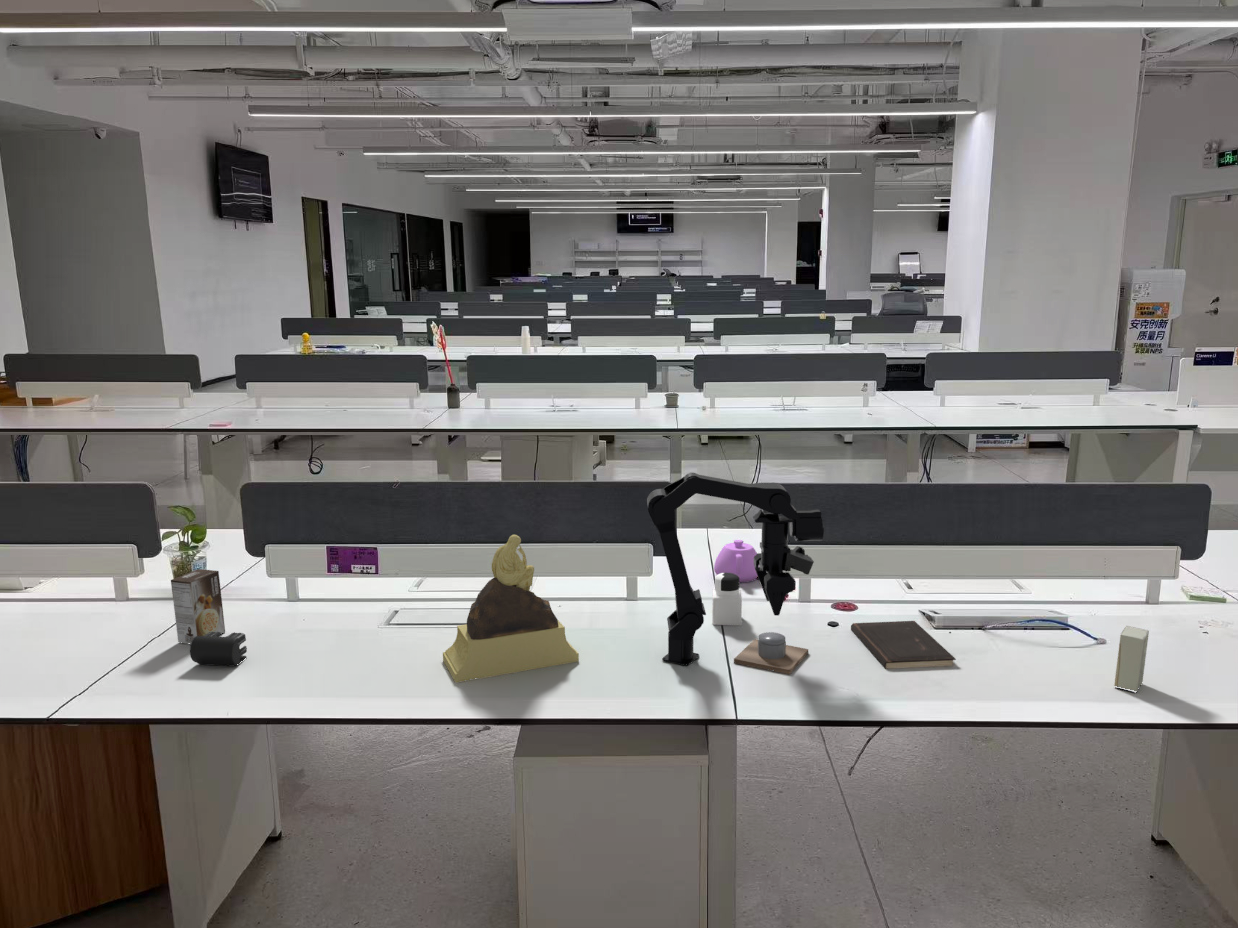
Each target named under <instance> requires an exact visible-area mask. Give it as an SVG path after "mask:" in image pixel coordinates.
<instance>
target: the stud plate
mask: <svg viewBox="0 0 1238 928" xmlns="http://www.w3.org/2000/svg"><path fill="white" fill-rule="evenodd" d="M808 654H809V648H804V647H799V646H794V645H788V644H786V655H785V656H784V657H783V658H780V659H766V658H763V657H761V656H759V655H758V639H757V638H754V639H753V640H752V641H751V642H750V643H749V644H748V645H747V646H746V647H745V648H743V650H742V651H741V652H739V653H738V654H737V655H736V656H735V657H734V658H733V664H737V665H743V666H746V667H752V668H756V667H758V668H757V669H761V668H763V669H762V670H766V669H769V670H768V671H771V670H774V671H773V672H776V671H777V672H776V673H780V672H781V673H782V674H784V675H785V674H786V675H790V674H792V673H793V671H794V670H795V669H796V668H797V667H798V666H799V664H800V663H801V662H802V661H803V660H804V659H805V658H806V656H808Z"/></svg>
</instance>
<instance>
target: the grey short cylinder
mask: <svg viewBox="0 0 1238 928" xmlns="http://www.w3.org/2000/svg"><path fill="white" fill-rule="evenodd" d="M786 643H787V642H786V636H785V635H784V634H782V633H780V632H779V633H778V632H772V631H771V632H770V631H769V632H768V631H767V632H763V633H760V634H759V635H758V655H759V656H761V657H763V658H766V659H780V658H783V657H784V656H785V655H786V645H787V644H786Z"/></svg>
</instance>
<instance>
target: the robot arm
mask: <svg viewBox="0 0 1238 928" xmlns="http://www.w3.org/2000/svg"><path fill="white" fill-rule="evenodd" d="M695 494H697V495H701V496H702V495H704V496H708V497H713V498H714V497H715V498H719V499H724V500H725V499H726V500H729V501H730V500H731V501H735V502H741V503H746V504H748V505H751V506H754V507H756V508H758V509H759V510H758V512H757V513H756V514H754V515H753V516H752V519H753V521H754V523H757V524H759V523H761V541H760V542H759V548H760V549H761V551H760V552H758V553H757V555H755V556H754V566H755V570H756V573H757V576H758V578H757V579H758V581H759V584H760V585H761V588H762V590H763V591H762V592H763V593H764V596H765V599H766V601H767V602H769V605H770V607H771V609H772V613H773V616H780V613H781V612H782V607H783V605H784V601H785V598H786V596H787V595H788V594H789V593H792V592H793V591H795V590H796V583H797V581H796V580H795V578H794V576H793V575H792V574H791V573H790V572H791V571H792V570H795V571H799V572H801V573H803V574H804V575H810V573H811V569H812V567H813V566H814V563H815V561H814V560H813V558H812V557H811V556H809V555H808V554H806V551H805V548H804V547H802V546H799V545H797V546H796V547H794V548H793V549H791V548H790V546H789V545H788V541H789V537H788V536H789V535H790V537H793V538H794V541H796V542H817V541H818V542H820V541H821V542H822V541H823V539H824V534H825V533H824V532H825V528H824V523H823V518H822V511H820V509H812V510H797V509H796V507H794V505H793V504H791V500H792V499H791V495H790V494H789V491H787V490H786V488H785V487H784V486H783V485H782V484H780V483H778V482H756V483H746V482H742V481H735V480H729V479H724V478H719V477H715V476H714V477H713V476H708V475H703V474H698V473H696V472H689V473H687V474H685V475H684V476H683V477H681V478H679V479H677V480H675V481H673V482H671V483H669V484H667V485H666V486H665V487H663V488H657V489H654V490H652V491H651V492H650V493H649V494H648V495H647V498H646V504H647V511H648V514H649V516H650V518H651V520H652V522H653V525H654V526H655V529H656V530H657V532H658V534H659V536H660V539H661V543H662V547H663V551H664V554H665V559H666V561H667V565H668V569H669V572H670V577H671V581H672V585H673V588H674V595H675V596H674V597H675V610H674V611H673V612H672V613H671V614H670V615H669V616H668V617H667V618H666V620H667V627H668V632H667V635H668V637H667V645H668V646H667V649H668V650H667V654H666V655H664V656H663V657H662V659H661V660H662V662H663V661H664V662H667V663H673V664H675V665H676V664H677V665H681V666H685V667H686V666H690V665H691V664H692V663H693V662H694V661H695V660H697V659H698V658H699V657H700V654H699V653H696V652H694V637H695V634H696V631H698V630H700V628H701V627H702V626H703V625H704V621H705V618H704V616H706V615H707V613H706V608H705V605H704V603H703V600H702V599H703V598H702V595H701V591H700V589H696V590H694V589H693V587H692V585H691V583H690V579H689V576H688V572H687V568H686V564H685V561H684V557H683V553H682V549H681V545H680V542H679V538H678V534H677V530H676V528H677V527H676V514H675V510H676V509H679V507H681V506H683V504H685V503H686V502H687V501H688V500H689V499H691V497H692V496H694V495H695ZM764 511H765V512H764ZM779 515H782V516H779ZM758 566H759V567H758ZM791 569H792V570H791Z"/></svg>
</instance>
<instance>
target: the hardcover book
mask: <svg viewBox="0 0 1238 928" xmlns="http://www.w3.org/2000/svg"><path fill="white" fill-rule="evenodd" d="M850 631H851V632H852V634H854V635H855V637H856V638H857V639H858V640H859V641H860V642H861V644H862V645H863V646H864V647H865V648H866V649H867V650H868V651H869V652H870V653H871V655H872V656H873V657H874V658H875V659H876V660H877V661H878V662H879V664H880V665H881V667H883V669H885V670H886V669H903V668H904V669H905V668H922V667H923V668H925V667H927V668H929V667H947V666H950V667H951V666H954V661H956V660H957V659H956V657H955V656H954V655H952V654H951V653H950V652H949V651H948V650H947V649H946V648H945V647H944V646H942V645H941V644H940V642H938V641H937V639H935V638H934V637H933V636H932V635H931V634H929V633H928V632H927V631H926V630H925V629H924V628H923V626H921V625H920V624H918V623H917V622H916V620H901V621H899V620H898V621H897V620H896V621H877V622H875V621H874V622H853V623H852V624H851V625H850Z"/></svg>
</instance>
